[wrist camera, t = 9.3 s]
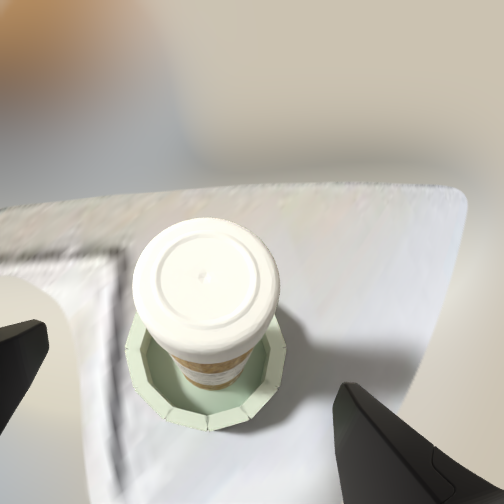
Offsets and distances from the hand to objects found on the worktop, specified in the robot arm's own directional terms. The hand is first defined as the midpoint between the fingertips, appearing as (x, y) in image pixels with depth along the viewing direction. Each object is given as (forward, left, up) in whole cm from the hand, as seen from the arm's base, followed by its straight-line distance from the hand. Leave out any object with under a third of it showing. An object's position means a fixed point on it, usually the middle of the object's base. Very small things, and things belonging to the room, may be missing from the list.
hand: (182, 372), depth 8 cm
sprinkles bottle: (+3, 0, -13) cm, 14 cm away
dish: (+3, 0, -13) cm, 14 cm away
